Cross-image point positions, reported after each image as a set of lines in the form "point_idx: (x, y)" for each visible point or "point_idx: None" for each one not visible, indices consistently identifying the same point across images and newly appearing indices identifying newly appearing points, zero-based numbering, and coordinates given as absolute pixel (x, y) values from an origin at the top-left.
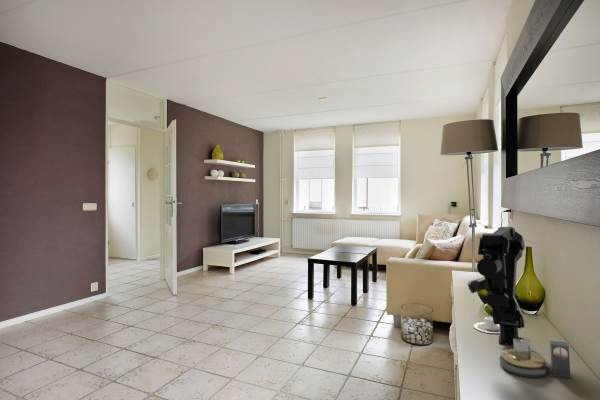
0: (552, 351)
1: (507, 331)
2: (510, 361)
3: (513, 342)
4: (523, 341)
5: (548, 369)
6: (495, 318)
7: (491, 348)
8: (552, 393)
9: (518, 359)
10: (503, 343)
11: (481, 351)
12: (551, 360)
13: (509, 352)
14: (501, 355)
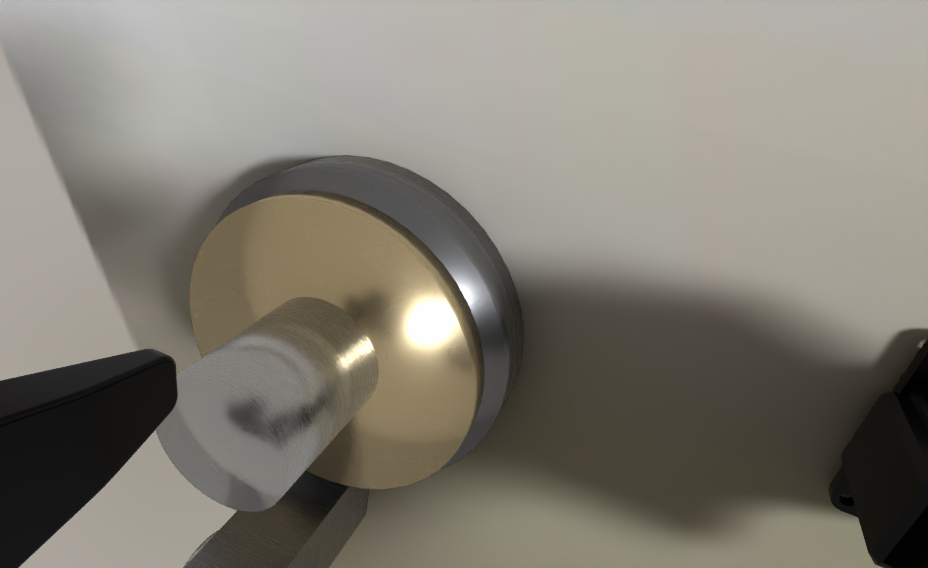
0: (206, 548)
1: (925, 521)
2: (217, 226)
3: (241, 362)
4: (190, 444)
5: None
6: (31, 377)
7: (781, 193)
8: (131, 322)
9: (259, 300)
10: (908, 371)
11: (679, 49)
12: (307, 500)
13: (376, 287)
14: (418, 210)
